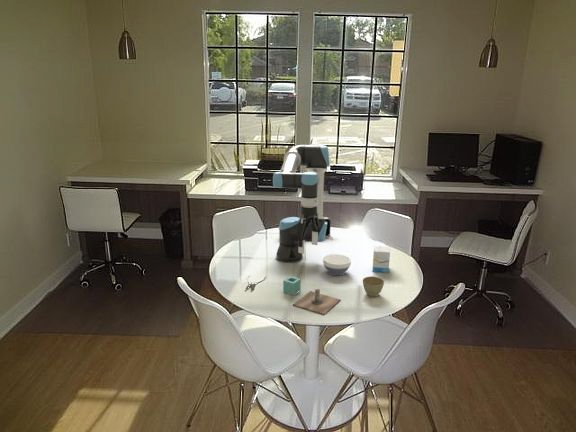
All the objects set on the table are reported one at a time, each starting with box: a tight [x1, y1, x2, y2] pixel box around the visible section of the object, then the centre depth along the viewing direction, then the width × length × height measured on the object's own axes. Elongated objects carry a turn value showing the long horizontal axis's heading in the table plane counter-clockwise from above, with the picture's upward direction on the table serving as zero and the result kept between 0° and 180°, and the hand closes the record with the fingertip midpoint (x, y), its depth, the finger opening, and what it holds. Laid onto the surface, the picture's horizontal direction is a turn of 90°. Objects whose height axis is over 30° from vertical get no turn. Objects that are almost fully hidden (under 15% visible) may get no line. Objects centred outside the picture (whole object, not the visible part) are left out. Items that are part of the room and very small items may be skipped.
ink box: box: [372, 245, 391, 273], centre depth 242 cm, size 8×8×12 cm
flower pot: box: [362, 275, 385, 298], centre depth 213 cm, size 10×10×7 cm
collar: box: [282, 275, 302, 296], centre depth 216 cm, size 6×6×6 cm
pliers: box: [245, 283, 257, 292], centre depth 225 cm, size 10×1×20 cm
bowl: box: [322, 253, 352, 276], centre depth 238 cm, size 14×14×8 cm
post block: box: [292, 288, 342, 316], centre depth 204 cm, size 16×16×7 cm
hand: (308, 248), depth 215 cm, fingers open, 13 cm apart
